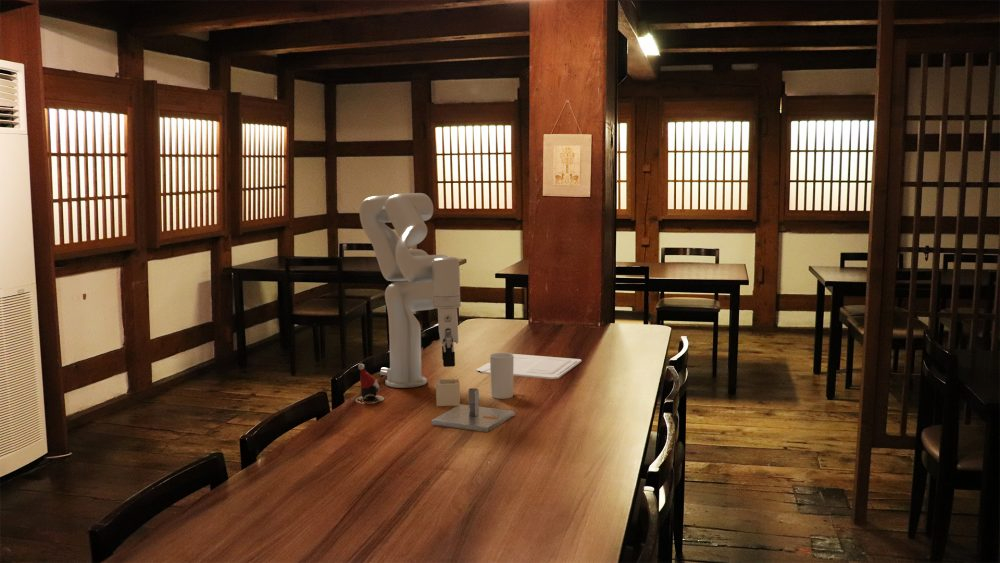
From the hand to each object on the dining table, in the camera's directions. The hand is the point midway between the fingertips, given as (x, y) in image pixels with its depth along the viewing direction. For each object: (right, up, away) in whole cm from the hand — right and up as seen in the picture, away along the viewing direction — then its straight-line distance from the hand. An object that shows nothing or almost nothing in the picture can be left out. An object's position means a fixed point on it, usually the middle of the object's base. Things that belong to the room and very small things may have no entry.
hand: (448, 362), depth 237 cm
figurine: (-23, -11, +6) cm, 26 cm away
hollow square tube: (0, -11, +2) cm, 12 cm away
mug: (+16, -10, +10) cm, 21 cm away
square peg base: (+7, -14, -14) cm, 21 cm away
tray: (+24, -6, +46) cm, 52 cm away
